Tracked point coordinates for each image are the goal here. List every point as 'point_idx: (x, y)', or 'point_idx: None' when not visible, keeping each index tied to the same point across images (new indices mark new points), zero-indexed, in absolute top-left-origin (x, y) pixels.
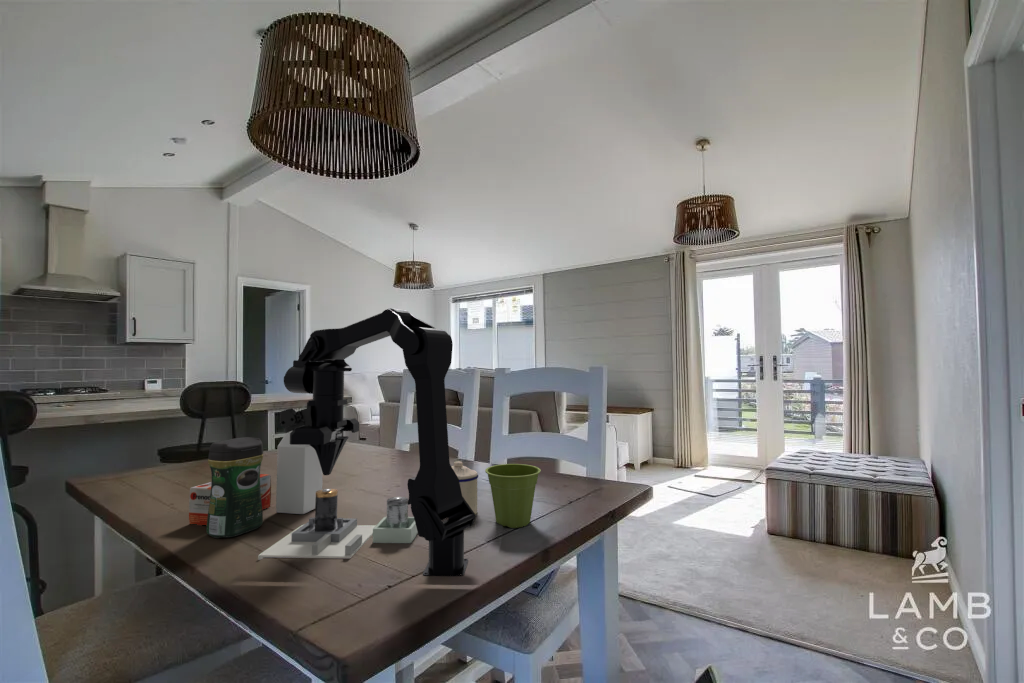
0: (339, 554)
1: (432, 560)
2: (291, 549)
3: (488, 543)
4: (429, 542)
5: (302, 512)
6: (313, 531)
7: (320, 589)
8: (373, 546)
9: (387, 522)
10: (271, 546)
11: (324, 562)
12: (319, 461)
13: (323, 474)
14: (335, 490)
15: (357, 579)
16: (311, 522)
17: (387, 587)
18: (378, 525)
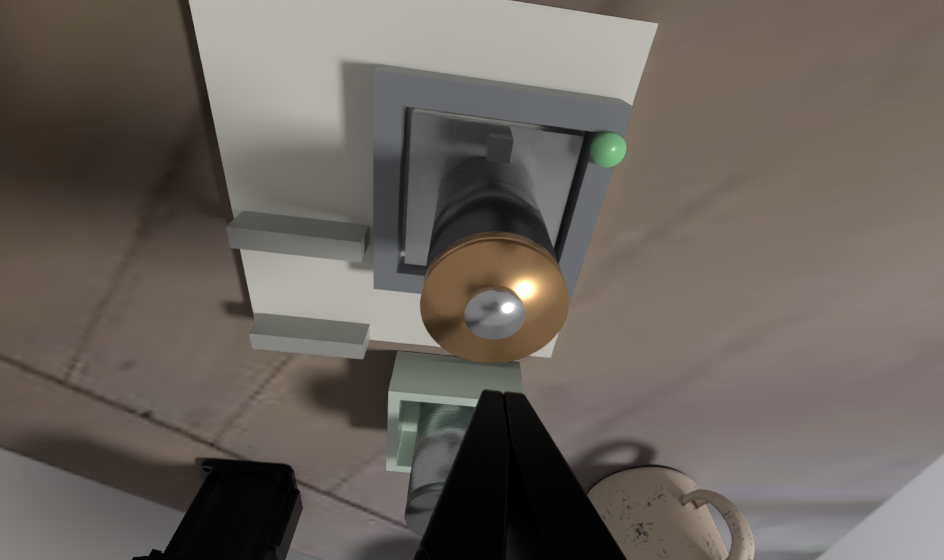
0: (265, 297)
1: (192, 506)
2: (281, 105)
3: (410, 533)
4: (194, 536)
5: None
6: (435, 164)
7: (60, 289)
8: (389, 353)
9: (430, 426)
10: None
11: (239, 250)
12: (433, 515)
13: (481, 392)
14: (513, 350)
15: (154, 355)
16: (486, 146)
17: (138, 412)
18: (424, 400)
